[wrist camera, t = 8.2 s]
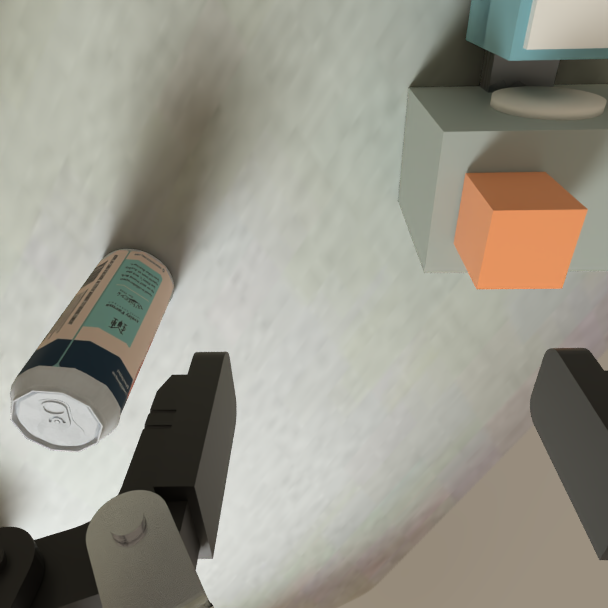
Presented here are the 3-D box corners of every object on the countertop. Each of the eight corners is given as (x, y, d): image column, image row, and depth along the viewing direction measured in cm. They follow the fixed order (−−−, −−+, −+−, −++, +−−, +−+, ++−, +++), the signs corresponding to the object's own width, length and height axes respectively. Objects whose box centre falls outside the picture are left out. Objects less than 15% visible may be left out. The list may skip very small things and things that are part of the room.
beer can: (105, 306, 32) (14, 454, 23) (94, 241, 30) (-16, 378, 20) (178, 311, 33) (119, 461, 23) (173, 248, 30) (104, 387, 20)
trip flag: (465, 172, 19) (493, 210, 16) (545, 171, 19) (587, 209, 16) (453, 243, 20) (476, 289, 17) (526, 242, 20) (562, 288, 17)
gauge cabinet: (409, 78, 24) (445, 120, 18) (625, 74, 24) (743, 115, 17) (397, 200, 28) (424, 272, 21) (585, 198, 28) (671, 270, 21)
